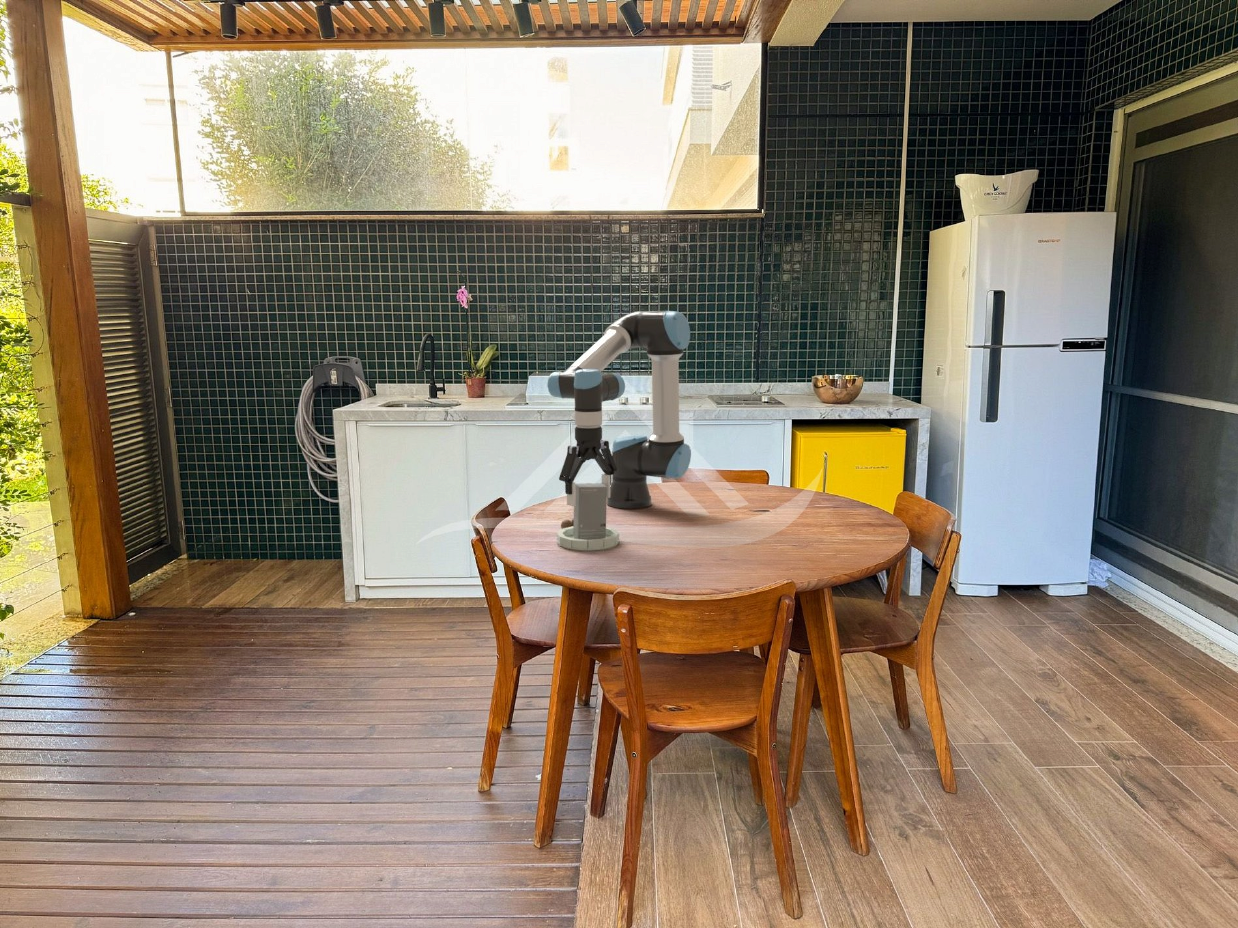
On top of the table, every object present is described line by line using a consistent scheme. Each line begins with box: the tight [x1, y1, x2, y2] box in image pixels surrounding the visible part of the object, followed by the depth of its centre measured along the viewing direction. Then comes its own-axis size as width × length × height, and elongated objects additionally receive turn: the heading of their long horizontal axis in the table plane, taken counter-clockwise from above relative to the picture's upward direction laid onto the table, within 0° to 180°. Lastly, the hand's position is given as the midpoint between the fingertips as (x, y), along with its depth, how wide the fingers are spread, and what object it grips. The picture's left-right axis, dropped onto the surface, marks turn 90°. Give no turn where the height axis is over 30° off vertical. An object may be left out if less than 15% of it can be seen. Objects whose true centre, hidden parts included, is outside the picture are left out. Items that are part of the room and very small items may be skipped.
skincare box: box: [573, 482, 607, 540], centre depth 234 cm, size 8×7×16 cm
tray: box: [556, 526, 620, 552], centre depth 234 cm, size 17×17×3 cm
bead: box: [560, 519, 573, 529], centre depth 246 cm, size 4×4×4 cm
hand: (589, 501), depth 233 cm, fingers open, 13 cm apart
